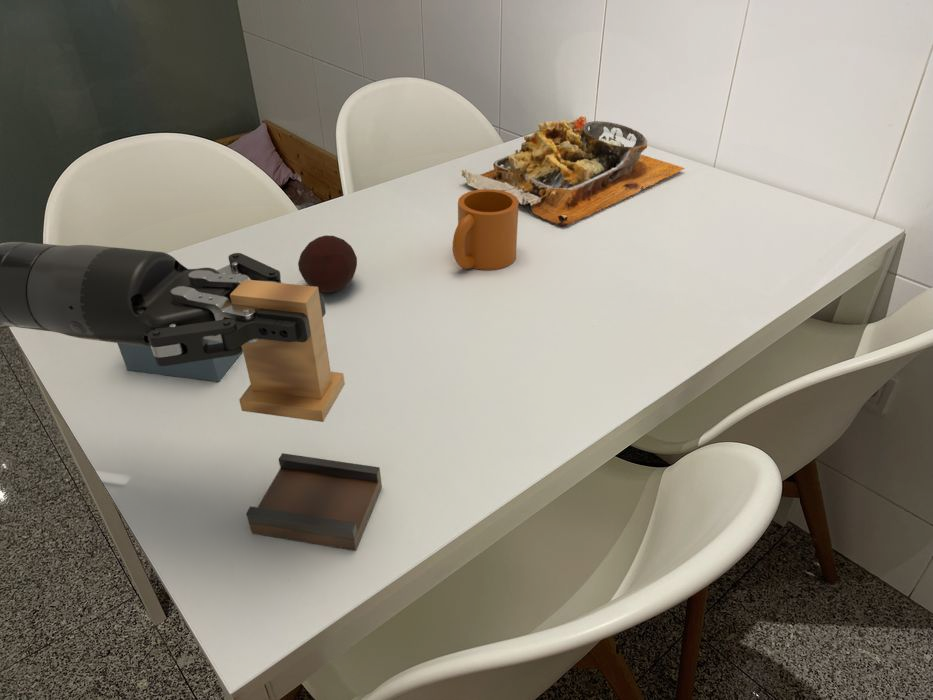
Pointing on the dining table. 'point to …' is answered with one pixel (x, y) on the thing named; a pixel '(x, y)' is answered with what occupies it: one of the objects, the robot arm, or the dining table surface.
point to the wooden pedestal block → (288, 357)
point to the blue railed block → (203, 370)
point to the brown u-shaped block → (317, 502)
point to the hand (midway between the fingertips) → (314, 317)
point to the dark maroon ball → (328, 263)
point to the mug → (486, 230)
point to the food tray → (573, 170)
